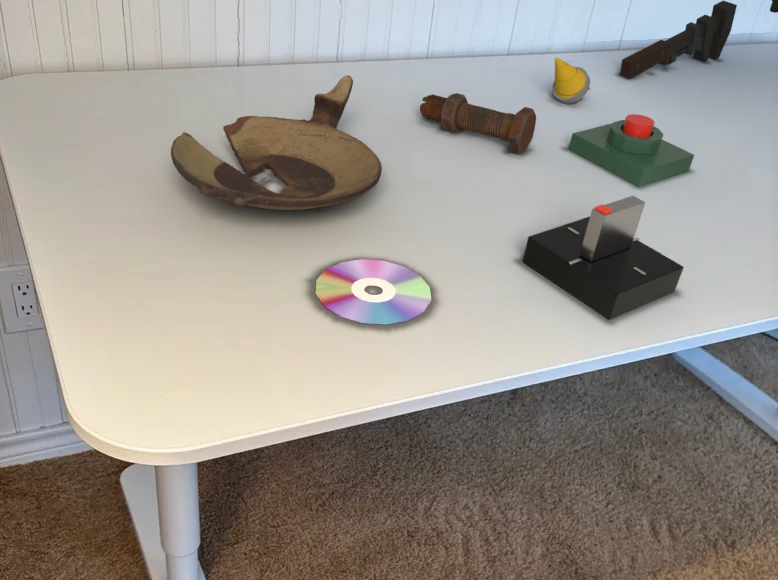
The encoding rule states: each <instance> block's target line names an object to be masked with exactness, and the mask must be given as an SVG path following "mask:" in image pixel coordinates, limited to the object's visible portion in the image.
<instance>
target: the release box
mask: <svg viewBox="0 0 778 580" xmlns="http://www.w3.org/2000/svg"><path fill="white" fill-rule="evenodd" d="M624 122H625V119H621V120H616V121H613V122H612V123H608V124H604V125H600V126H596V127H591V128H588V129H584V130H579V131H577V132H573V133H571V134H572V135H571V139H570V143H569V147H568V150H569V151H571V152H573V153H575V154H577V155H578V156H580V157H582V158H585V159H586V160H588V161H590V162H591V163H593V164H596V165H598V166H600V167H601V168H603V169H605V170H607V171H609V172H610V173H613V174H615V175H617V176H618V177H620V178H622V179H624V180H626V181H628V182H630V183H632V184H634V185H635V186H637V187H643V186H646V185H649V184H653V183H654V182H658V181H661V180H665V179H667V178H670V177H674V176H676V175H679V174H684V173H686V172H689V171H690V168H691V165H692V163H693V160H694V157H695V154H694V153H692V152H689V151H687V150H686V149H683V148H681V147H679V146H676V145H674V144H673V143H670V142H668V141H666V140H664V139H663V137H664V133H663V132H662V130H661V129H659V128H658V127H656V126H655V125H654V126H653V130H652V133H651V136H650V137H637V136H632V135H629V134H627V133H625V132H623V131H622V129H623V126H624Z"/></svg>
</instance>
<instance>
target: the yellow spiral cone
mask: <svg viewBox="0 0 778 580" xmlns="http://www.w3.org/2000/svg"><path fill="white" fill-rule="evenodd" d="M590 85H591V79H590V75H589V74H588V72H587V71H586V69H584V68H583V67H580V66H573V65H572V64H570V63H568V62H566V61H564V60H563V59H560V58H558V57H554V81H553V84H552V89H551V91H552V94H553V96H554V98H555V99H556V100H557V101H558V102H559V103H561V104H564V105H565V104H566V105H568V104H573V103H577V102H578V101H580V100H581V99H582V98H583V97H585V95H586V94H587V93H588V91H590V90H591V87H590Z"/></svg>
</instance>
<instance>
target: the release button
mask: <svg viewBox="0 0 778 580" xmlns="http://www.w3.org/2000/svg"><path fill="white" fill-rule="evenodd" d="M624 120H625V122H624V126H623V129H622V131H623V132H625V133H627V134H629V135H632V136H637V137H650V136H651V133H652V130H653V126H654V127H655V123H656V122H655V121H654V119H653V118H651V117H649V116H646V115H643V114H639V113H631V114H628V115H626V116H625V119H624Z"/></svg>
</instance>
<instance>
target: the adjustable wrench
mask: <svg viewBox="0 0 778 580" xmlns="http://www.w3.org/2000/svg"><path fill="white" fill-rule="evenodd" d="M737 8H738V4H735V3H733V2H730V1H727V0H721V1H719V2H717V3H715V4H713V6H712V10H711V15H708V14H703V15H702V16H700V17H697V18H696V21H695V22H692V21H690V22H688V23H686V24H685V29H684V30H683V31H680V32H679V33H676V34H675V35H673V36H671V37H668V38H667V39H665V40H664V39H660V40H658V41H655V42H654V43H652V44H650V45H648V46H646V47H644V48H642V49H640V50H638V51H636V52H634V53H632V54H630V55H628V56H626V57H624V58H623V59H621V65H620V71H619V75H620V76H621V77H624V78H626V79H628V80H631V79H632V78H634V77H636V76H638V75H640V74H641V73H644V72H645V71H647V70H649V69H652V68H654V67H655V66H657V65H658V64H659V65H662V66H664V67H666V66H668V65H671V64H673V63H675V62H676V61H677V59H678V57H680V56H682V55H686V56H689V57H692V58H693V59H696V60H698V61H700V62H703V63H706V62H707V61H709V58H711V59H714V60H719V58H720V56H721V54H722V52H723V49H724V48H725V45H726V43H727V41H728V39H729V36H730V34H731V32H732V28H733V24H734V20H735V15H736V12H737Z"/></svg>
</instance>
